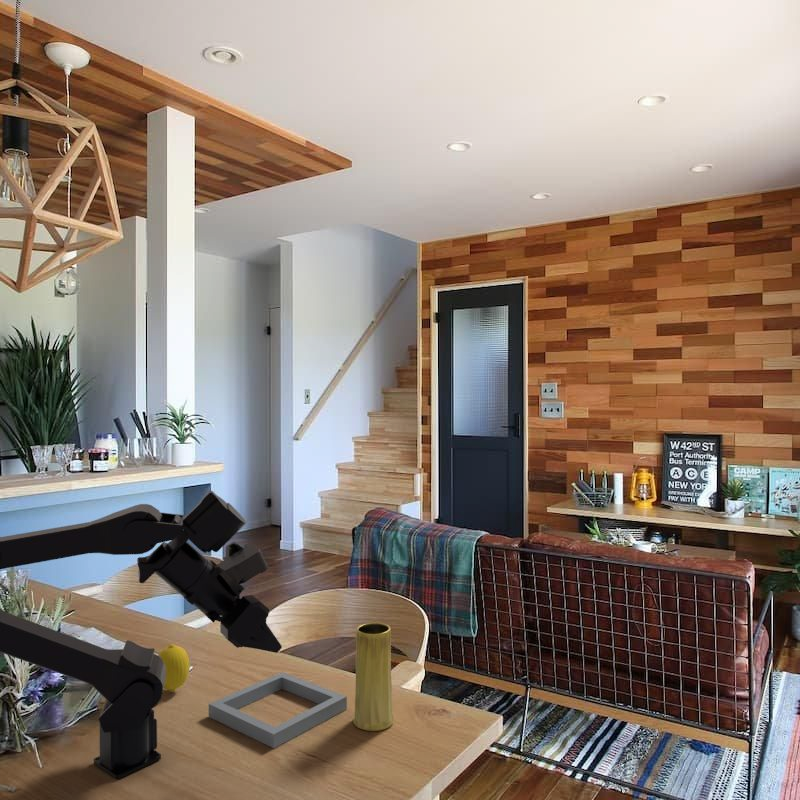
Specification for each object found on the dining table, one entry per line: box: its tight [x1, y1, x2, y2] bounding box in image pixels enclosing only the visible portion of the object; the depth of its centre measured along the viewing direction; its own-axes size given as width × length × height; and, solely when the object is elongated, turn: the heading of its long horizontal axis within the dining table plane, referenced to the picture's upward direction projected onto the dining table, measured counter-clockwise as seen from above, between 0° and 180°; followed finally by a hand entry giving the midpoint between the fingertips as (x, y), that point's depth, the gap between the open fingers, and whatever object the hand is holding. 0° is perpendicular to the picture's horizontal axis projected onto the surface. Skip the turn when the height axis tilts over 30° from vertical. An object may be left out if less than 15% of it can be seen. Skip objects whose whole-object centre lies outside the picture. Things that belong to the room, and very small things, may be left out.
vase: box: [353, 622, 395, 732], centre depth 103 cm, size 6×6×14 cm
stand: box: [208, 671, 348, 749], centre depth 106 cm, size 15×15×2 cm
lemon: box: [157, 643, 191, 693], centre depth 114 cm, size 6×6×8 cm
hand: (268, 639), depth 101 cm, fingers open, 9 cm apart
